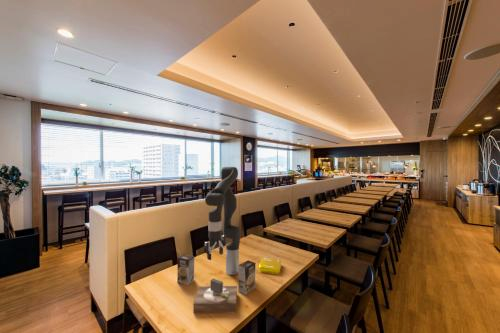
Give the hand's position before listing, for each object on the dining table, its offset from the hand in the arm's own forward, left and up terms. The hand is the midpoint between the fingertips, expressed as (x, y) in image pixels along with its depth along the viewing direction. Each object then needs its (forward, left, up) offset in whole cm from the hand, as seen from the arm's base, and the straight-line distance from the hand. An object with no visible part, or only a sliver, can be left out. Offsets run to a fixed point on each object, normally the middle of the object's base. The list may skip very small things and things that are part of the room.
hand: (215, 256), depth 118 cm
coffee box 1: (-19, -22, -25) cm, 38 cm away
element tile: (-35, +36, -25) cm, 56 cm away
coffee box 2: (-9, +18, -25) cm, 32 cm away
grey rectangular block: (+3, +3, -19) cm, 20 cm away
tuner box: (+3, +1, -25) cm, 25 cm away
